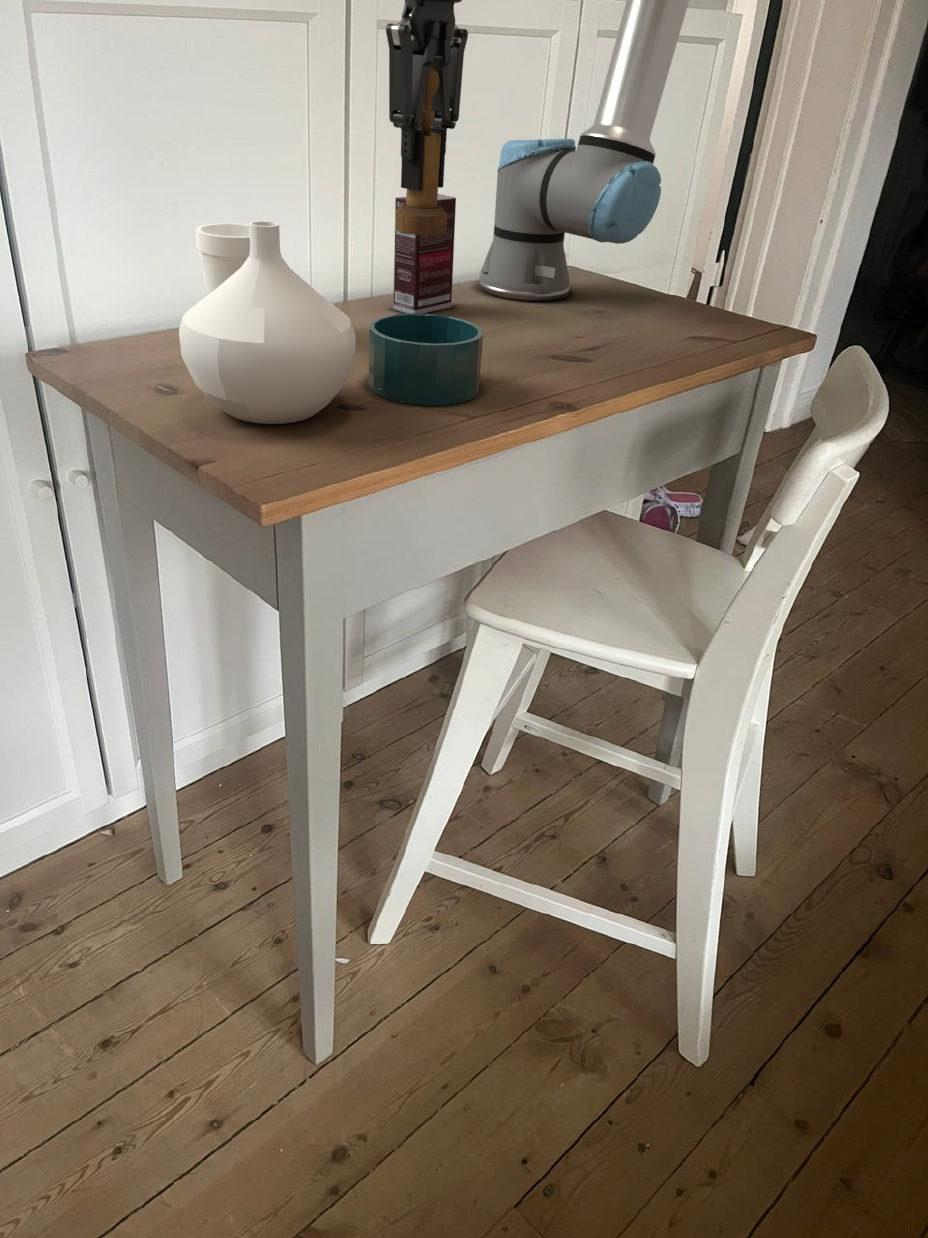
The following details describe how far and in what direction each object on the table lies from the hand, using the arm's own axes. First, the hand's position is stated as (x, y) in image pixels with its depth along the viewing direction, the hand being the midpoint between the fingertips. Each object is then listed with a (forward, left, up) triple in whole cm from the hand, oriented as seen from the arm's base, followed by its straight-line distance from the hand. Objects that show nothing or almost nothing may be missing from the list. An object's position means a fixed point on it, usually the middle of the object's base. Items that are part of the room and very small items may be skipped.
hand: (422, 186), depth 118 cm
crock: (+13, +10, -20) cm, 26 cm away
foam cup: (+12, -21, -20) cm, 31 cm away
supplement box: (-17, -11, -20) cm, 28 cm away
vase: (+31, +2, -20) cm, 37 cm away
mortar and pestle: (0, 0, -5) cm, 5 cm away
